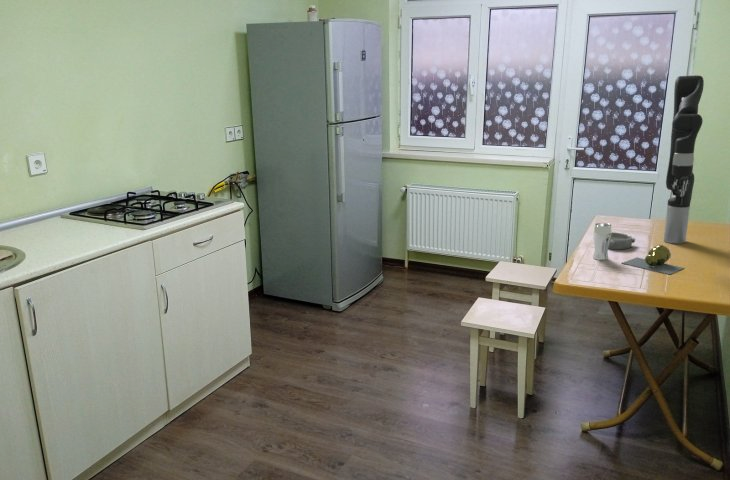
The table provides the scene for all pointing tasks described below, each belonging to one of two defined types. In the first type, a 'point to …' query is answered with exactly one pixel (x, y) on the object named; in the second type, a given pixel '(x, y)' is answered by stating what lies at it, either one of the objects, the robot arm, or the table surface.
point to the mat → (658, 268)
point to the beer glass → (601, 240)
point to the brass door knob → (658, 255)
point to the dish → (620, 241)
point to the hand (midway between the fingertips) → (678, 204)
